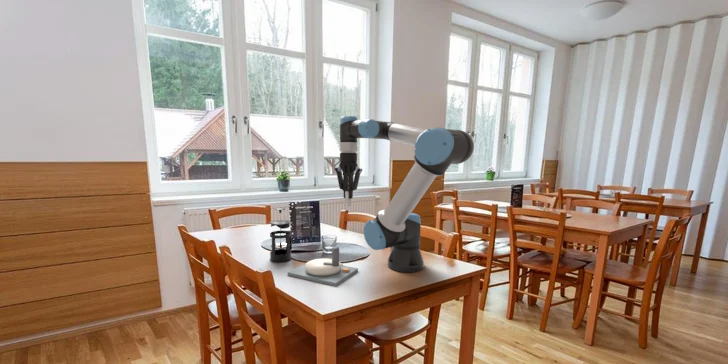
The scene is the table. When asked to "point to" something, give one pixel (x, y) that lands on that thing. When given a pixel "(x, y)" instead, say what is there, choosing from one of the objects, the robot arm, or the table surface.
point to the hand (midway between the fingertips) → (348, 205)
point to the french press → (282, 250)
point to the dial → (325, 265)
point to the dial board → (328, 279)
